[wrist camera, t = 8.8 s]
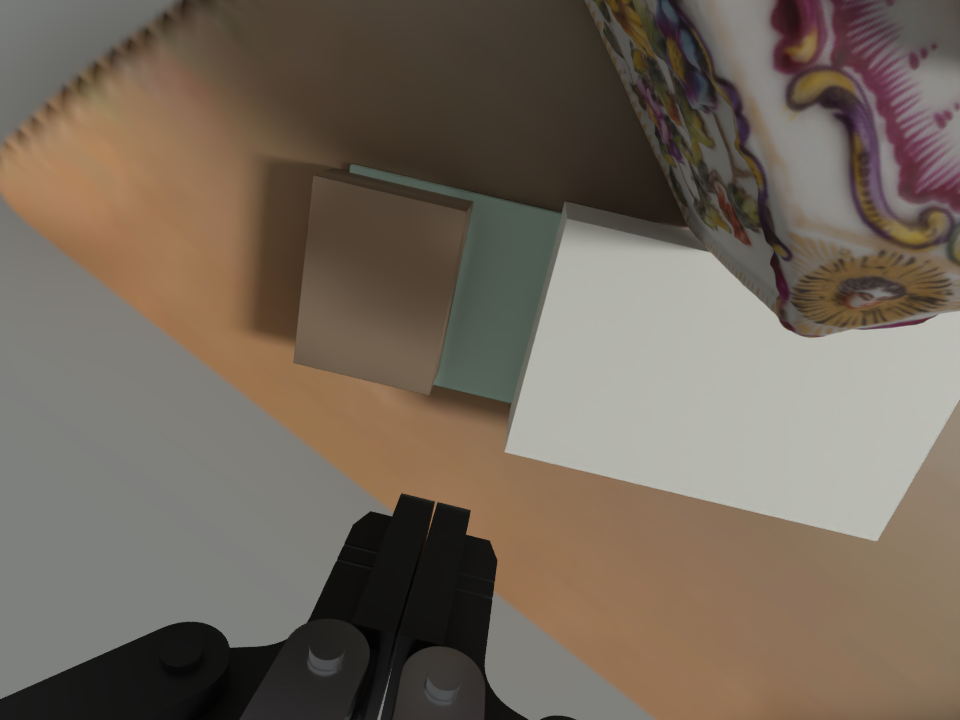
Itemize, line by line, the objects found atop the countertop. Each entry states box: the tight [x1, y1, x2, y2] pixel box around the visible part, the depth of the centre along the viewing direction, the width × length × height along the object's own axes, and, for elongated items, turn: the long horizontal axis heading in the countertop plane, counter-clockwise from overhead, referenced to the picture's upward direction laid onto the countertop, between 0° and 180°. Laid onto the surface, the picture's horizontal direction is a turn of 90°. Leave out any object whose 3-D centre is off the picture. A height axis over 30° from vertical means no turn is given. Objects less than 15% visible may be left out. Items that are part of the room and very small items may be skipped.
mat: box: [349, 164, 562, 403], centre depth 28 cm, size 9×9×1 cm
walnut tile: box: [293, 168, 474, 395], centre depth 27 cm, size 8×6×2 cm
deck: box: [505, 201, 960, 541], centre depth 27 cm, size 10×16×4 cm, turn 78°
